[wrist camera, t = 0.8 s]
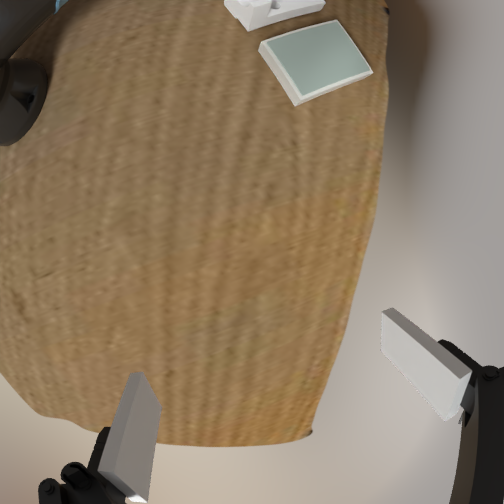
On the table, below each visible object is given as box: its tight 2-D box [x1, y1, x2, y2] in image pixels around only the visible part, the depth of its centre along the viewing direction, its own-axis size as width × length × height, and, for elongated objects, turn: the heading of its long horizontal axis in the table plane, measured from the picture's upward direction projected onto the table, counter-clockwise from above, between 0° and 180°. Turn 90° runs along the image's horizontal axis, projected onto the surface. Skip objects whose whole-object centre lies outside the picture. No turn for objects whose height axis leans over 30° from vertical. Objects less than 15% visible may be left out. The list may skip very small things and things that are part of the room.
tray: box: [258, 20, 373, 106], centre depth 31 cm, size 10×13×3 cm
